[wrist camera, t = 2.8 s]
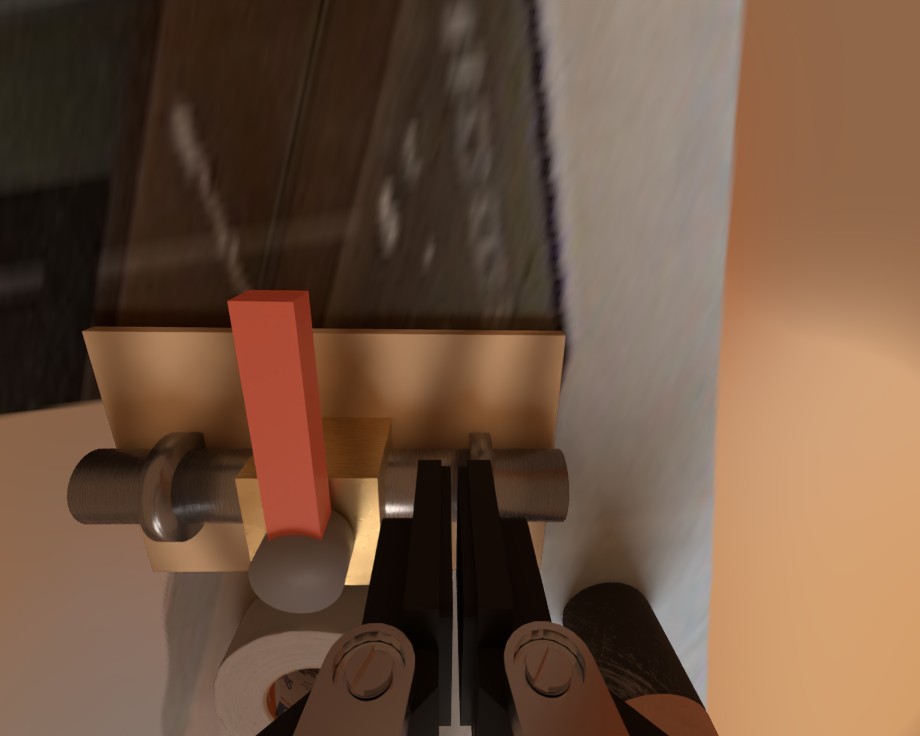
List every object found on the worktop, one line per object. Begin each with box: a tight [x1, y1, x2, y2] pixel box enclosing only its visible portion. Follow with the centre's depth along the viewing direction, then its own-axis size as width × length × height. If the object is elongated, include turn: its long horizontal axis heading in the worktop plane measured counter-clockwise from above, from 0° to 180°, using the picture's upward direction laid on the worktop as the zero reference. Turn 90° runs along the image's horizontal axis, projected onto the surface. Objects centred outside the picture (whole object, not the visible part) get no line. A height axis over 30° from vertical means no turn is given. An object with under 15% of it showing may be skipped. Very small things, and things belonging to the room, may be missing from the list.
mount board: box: [82, 326, 566, 572], centre depth 30 cm, size 28×18×1 cm, turn 89°
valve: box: [67, 417, 569, 585], centre depth 27 cm, size 28×7×8 cm, turn 89°
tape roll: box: [214, 585, 369, 736], centre depth 35 cm, size 15×15×5 cm
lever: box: [227, 290, 355, 613], centre depth 20 cm, size 15×4×3 cm, turn 179°
